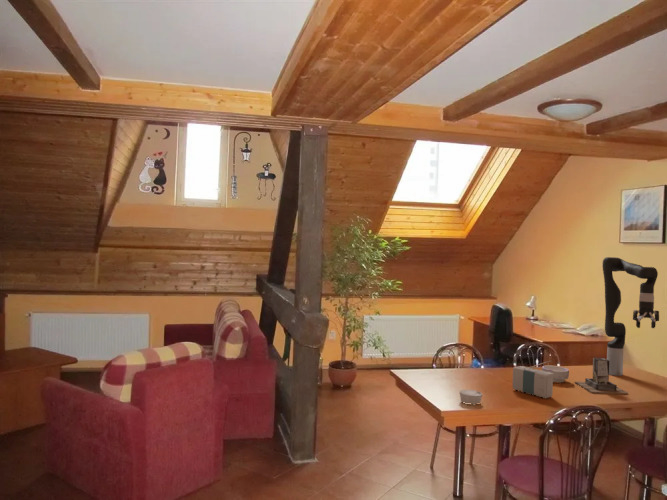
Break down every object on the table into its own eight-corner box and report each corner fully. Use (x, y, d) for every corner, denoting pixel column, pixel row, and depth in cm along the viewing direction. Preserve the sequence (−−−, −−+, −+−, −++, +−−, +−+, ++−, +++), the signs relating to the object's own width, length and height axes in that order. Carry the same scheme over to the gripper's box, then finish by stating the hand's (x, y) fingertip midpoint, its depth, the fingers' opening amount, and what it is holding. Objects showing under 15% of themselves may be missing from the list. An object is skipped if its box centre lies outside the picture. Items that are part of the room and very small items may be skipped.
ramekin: (485, 406, 268) (485, 395, 268) (463, 406, 268) (463, 395, 268) (477, 399, 280) (477, 389, 280) (456, 399, 279) (456, 389, 279)
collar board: (574, 383, 319) (574, 376, 319) (608, 384, 319) (608, 377, 319) (591, 393, 297) (592, 386, 297) (628, 394, 297) (628, 387, 297)
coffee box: (609, 389, 303) (609, 360, 303) (596, 388, 304) (597, 360, 304) (603, 385, 312) (604, 357, 312) (591, 384, 313) (592, 356, 313)
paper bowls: (574, 383, 318) (574, 370, 318) (554, 385, 313) (554, 371, 313) (555, 377, 333) (556, 364, 333) (535, 378, 328) (536, 365, 327)
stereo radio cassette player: (511, 390, 299) (512, 354, 299) (520, 388, 304) (521, 353, 304) (545, 400, 282) (546, 362, 282) (554, 397, 287) (555, 360, 287)
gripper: (654, 300, 322) (654, 327, 322) (631, 299, 322) (630, 326, 322) (662, 301, 314) (661, 329, 314) (638, 301, 314) (637, 328, 314)
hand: (645, 327), depth 318 cm, fingers open, 8 cm apart
